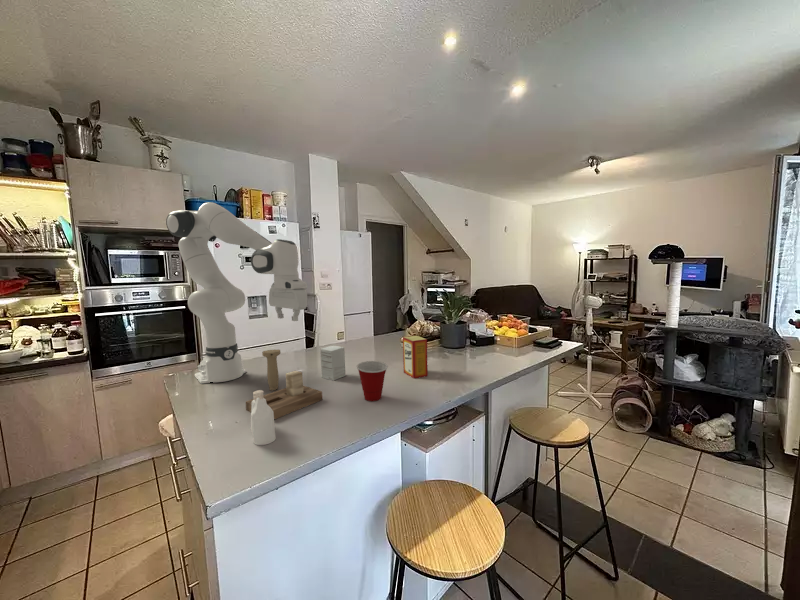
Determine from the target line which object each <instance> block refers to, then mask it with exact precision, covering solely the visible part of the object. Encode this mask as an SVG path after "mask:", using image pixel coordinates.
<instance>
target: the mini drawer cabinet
mask: <svg viewBox="0 0 800 600" xmlns="http://www.w3.org/2000/svg"><path fill="white" fill-rule="evenodd" d="M319 350H320V351H319V352H320V366H321V369H320V370H321V371H320V372H321V378H323V379H325V380H330V381H333V380H334V381H335V380H339V379H341V378H342V377H346V375H347V374H346V358H345V357H346V355H345V353H346V352H345V347H344V346H338V345H329V346H326V347H322V348H320V349H319Z"/></svg>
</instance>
